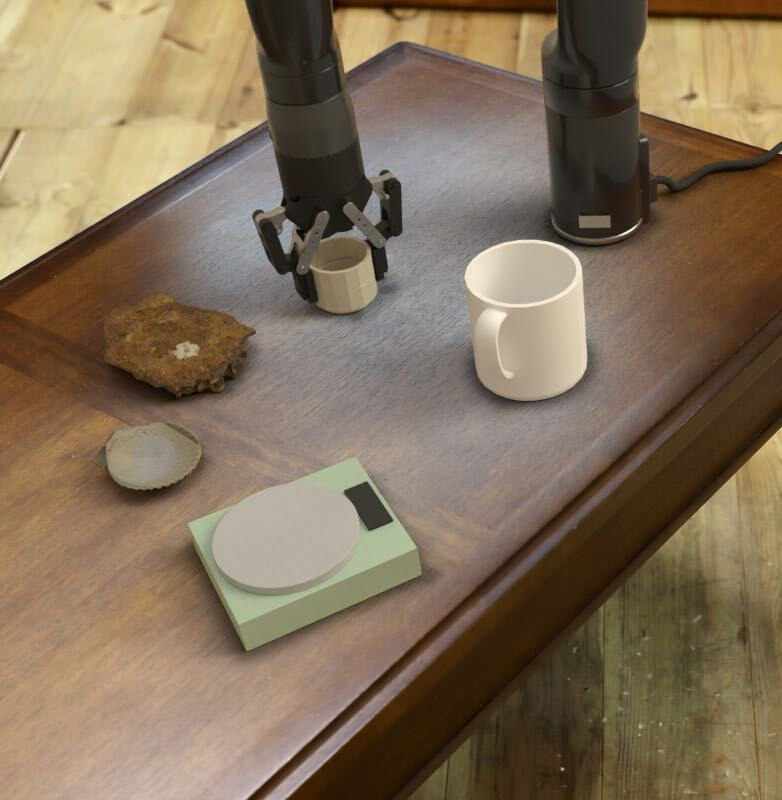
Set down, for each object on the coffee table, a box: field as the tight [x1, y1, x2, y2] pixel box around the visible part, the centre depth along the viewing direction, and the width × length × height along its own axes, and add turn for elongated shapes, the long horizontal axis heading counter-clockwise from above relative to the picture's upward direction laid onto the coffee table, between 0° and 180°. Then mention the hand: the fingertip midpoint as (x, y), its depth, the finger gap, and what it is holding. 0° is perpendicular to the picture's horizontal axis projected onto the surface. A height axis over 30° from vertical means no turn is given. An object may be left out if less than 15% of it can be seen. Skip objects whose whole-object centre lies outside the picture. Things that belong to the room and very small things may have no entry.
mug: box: [464, 239, 588, 402], centre depth 120 cm, size 13×10×10 cm
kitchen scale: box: [186, 456, 423, 652], centre depth 105 cm, size 14×12×4 cm
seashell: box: [92, 421, 203, 492], centre depth 114 cm, size 8×3×8 cm
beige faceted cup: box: [309, 235, 378, 315], centre depth 131 cm, size 6×6×5 cm
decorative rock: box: [103, 292, 257, 398], centre depth 126 cm, size 11×4×15 cm
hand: (344, 287), depth 132 cm, fingers closed on beige faceted cup, 6 cm apart
